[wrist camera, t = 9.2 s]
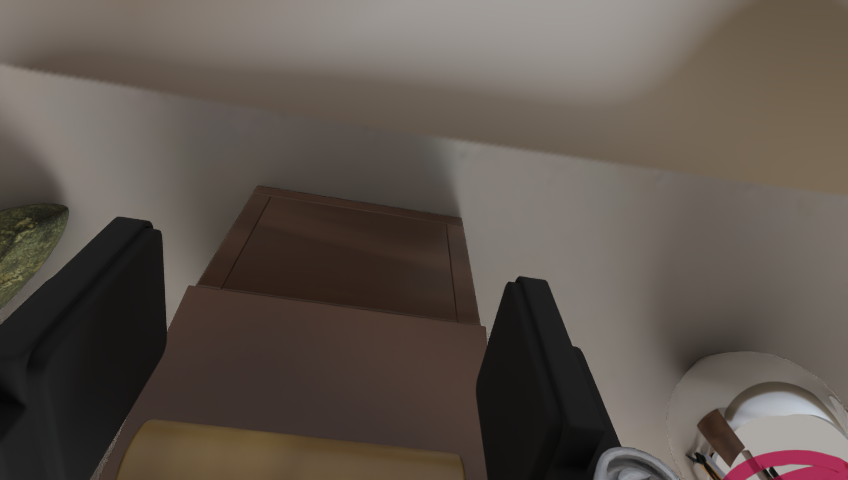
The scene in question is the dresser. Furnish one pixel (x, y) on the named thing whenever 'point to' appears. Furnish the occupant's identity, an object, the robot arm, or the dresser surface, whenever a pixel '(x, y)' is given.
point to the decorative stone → (27, 243)
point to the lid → (305, 395)
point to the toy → (756, 421)
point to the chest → (347, 256)
